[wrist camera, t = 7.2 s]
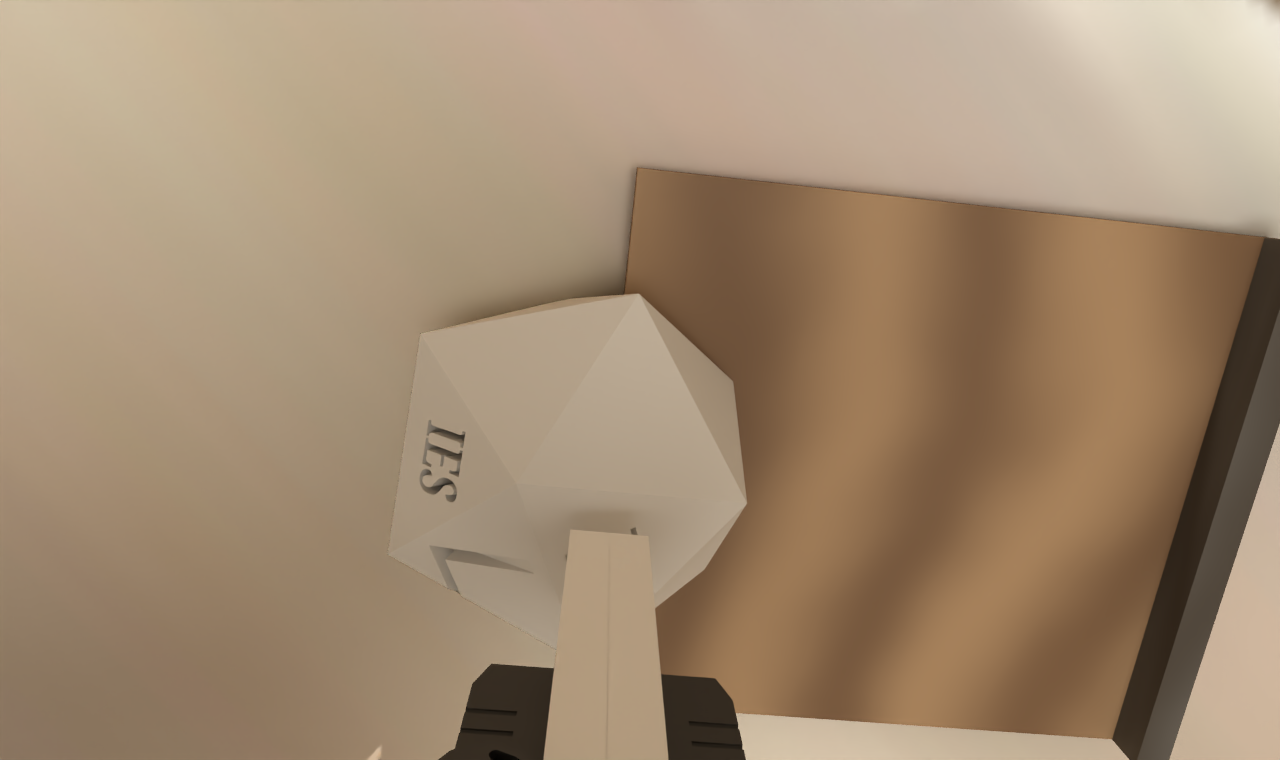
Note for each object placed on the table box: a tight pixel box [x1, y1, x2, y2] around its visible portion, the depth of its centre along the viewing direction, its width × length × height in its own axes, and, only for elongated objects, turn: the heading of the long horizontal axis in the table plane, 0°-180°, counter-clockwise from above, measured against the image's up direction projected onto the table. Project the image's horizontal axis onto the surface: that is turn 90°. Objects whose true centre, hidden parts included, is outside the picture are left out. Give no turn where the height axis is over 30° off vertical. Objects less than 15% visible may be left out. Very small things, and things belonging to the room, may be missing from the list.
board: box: [624, 168, 1280, 760], centre depth 24 cm, size 18×16×2 cm
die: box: [387, 294, 747, 650], centre depth 21 cm, size 8×9×10 cm
